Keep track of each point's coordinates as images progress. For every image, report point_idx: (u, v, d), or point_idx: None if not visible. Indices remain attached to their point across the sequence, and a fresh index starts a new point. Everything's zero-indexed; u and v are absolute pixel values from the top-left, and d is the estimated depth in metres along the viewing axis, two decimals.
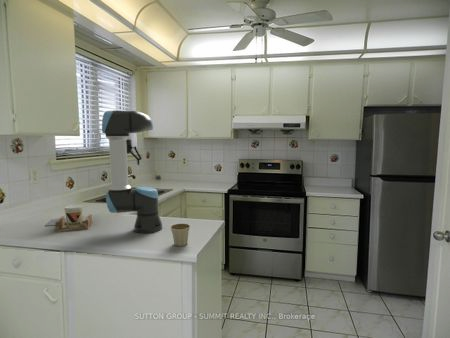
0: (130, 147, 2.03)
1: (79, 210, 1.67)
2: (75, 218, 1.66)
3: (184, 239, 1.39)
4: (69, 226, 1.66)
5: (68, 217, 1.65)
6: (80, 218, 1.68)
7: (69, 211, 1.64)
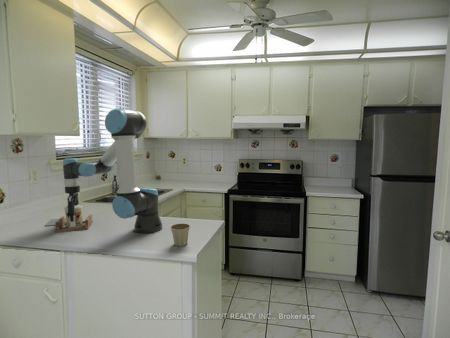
0: (69, 196, 1.65)
1: (79, 210, 1.67)
2: (75, 218, 1.66)
3: (184, 239, 1.39)
4: (69, 226, 1.66)
5: (68, 217, 1.65)
6: (80, 218, 1.68)
7: None
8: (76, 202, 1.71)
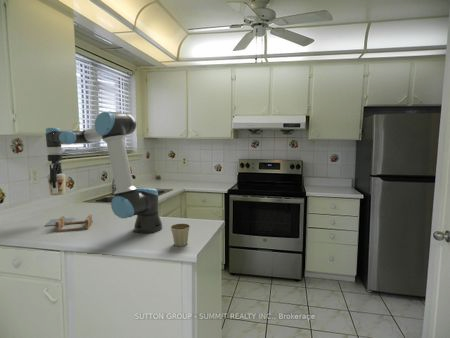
0: None
1: (61, 177, 1.74)
2: (57, 185, 1.73)
3: (184, 239, 1.39)
4: None
5: (50, 184, 1.72)
6: (62, 185, 1.75)
7: None
8: (59, 171, 1.78)
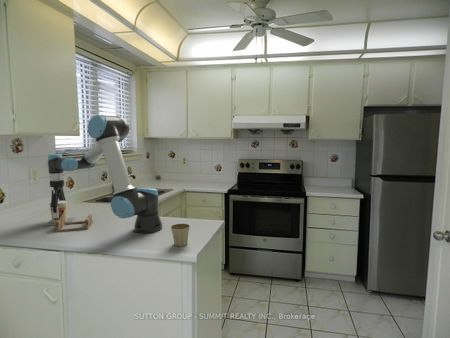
0: None
1: (63, 205, 1.76)
2: (60, 213, 1.75)
3: (184, 239, 1.39)
4: (54, 221, 1.75)
5: None
6: (64, 213, 1.77)
7: None
8: (61, 195, 1.81)
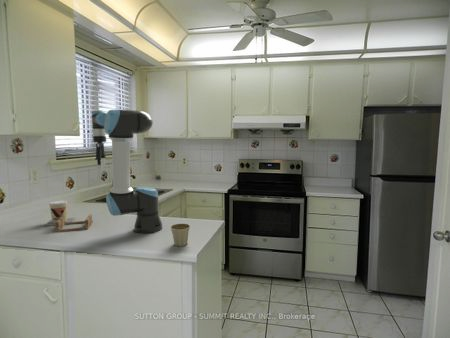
0: None
1: (63, 205, 1.76)
2: (60, 213, 1.75)
3: (184, 239, 1.39)
4: (54, 221, 1.75)
5: (53, 212, 1.74)
6: (64, 213, 1.77)
7: (54, 206, 1.73)
8: (103, 151, 1.91)
